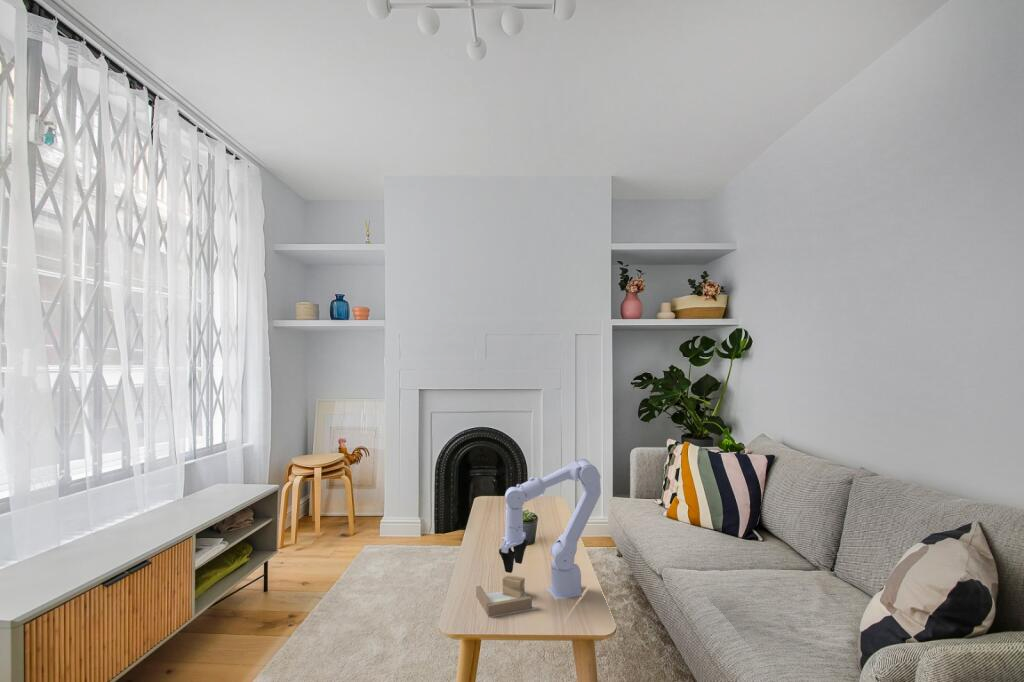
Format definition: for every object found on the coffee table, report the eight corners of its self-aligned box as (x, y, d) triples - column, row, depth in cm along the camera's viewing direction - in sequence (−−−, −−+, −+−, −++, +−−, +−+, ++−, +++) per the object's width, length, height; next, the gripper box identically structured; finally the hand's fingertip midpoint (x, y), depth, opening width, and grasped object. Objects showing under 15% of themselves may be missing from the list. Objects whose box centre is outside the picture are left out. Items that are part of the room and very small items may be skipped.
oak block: (507, 589, 164) (508, 573, 164) (524, 593, 161) (524, 577, 161) (502, 594, 160) (502, 578, 160) (519, 598, 158) (519, 582, 158)
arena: (520, 589, 165) (520, 578, 165) (537, 609, 151) (537, 598, 151) (475, 596, 159) (475, 585, 159) (488, 618, 146) (488, 606, 146)
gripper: (512, 517, 170) (512, 557, 169) (493, 530, 156) (492, 573, 156) (531, 520, 167) (531, 560, 166) (513, 534, 153) (512, 578, 153)
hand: (513, 567), depth 161 cm, fingers open, 7 cm apart
